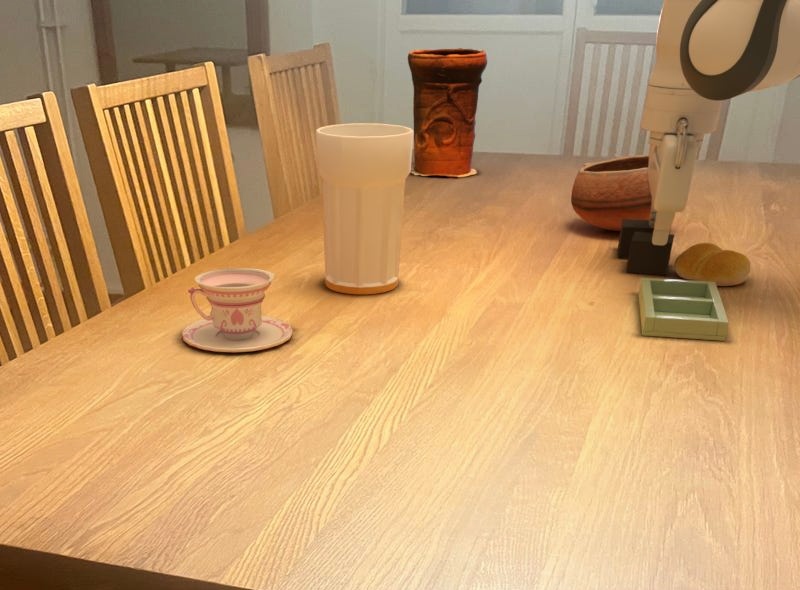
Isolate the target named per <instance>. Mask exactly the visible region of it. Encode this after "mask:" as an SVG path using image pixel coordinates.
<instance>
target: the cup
mask: <svg viewBox="0 0 800 590" xmlns="http://www.w3.org/2000/svg"><path fill="white" fill-rule="evenodd" d="M315 145H316V147H315V148H316V149H315V150H316V171H317V172H318V175H320V177H321V182H322V183H321V186H322V217H323V218H322V219H323V248H324V250H323V251H324V274H325V275H324V277H325V279H324V282H325V286H326V287H327V288H328V289H329V290H331V291H333V292H337V293H340V294H341V293H342V294H347V295H357V296H358V295H361V296H362V295H363V296H364V295H376V294H382V293H383V294H384V293H388V292H391V291H393V290H394V289H396V288H397V286H398V285H399V274H400V260H401V248H402V247H401V245H402V235H403V234H402V233H403V232H402V231H403V219H404V207H405V206H404V204H405V189H406V179H407V177H409V175H410V174H411V171H412V170H411V166H412V159H413V149H414V129H412V128H411V127H408V126H405V125H401V124H400V125H398V124H389V123H372V122H370V123H369V122H363V123H362V122H361V123H359V122H358V123H357V122H356V123H342V124H338V123H337V124H331V125H325V126H321V127H319V128H317V129H316V130H315Z"/></svg>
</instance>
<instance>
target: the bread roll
mask: <svg viewBox="0 0 800 590" xmlns="http://www.w3.org/2000/svg"><path fill="white" fill-rule="evenodd" d="M673 266H674V271H675V273H676V275H678V276H679V277H680V278H682V279H683V280H692V281H707V282H715V283H716V286H717V287H732V286H737V285H741V284H742V283H744V282H745V281H746V280H747V279H748V278H749V275H750V272H751V261H750V260H749V258H748V257H747V255H745V254H743V253H741V252H737V251H736V250H735V251H734V250H732V249H722V248H721V246H719V245H716V244H714V243H711V242H699V243H696V244H693V245H691V246H689V247H687V248H686V249H685V250H684V251H682V252H681V253H680V254H678V255H677V257H676V258H675V260H674V264H673Z"/></svg>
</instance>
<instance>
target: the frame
mask: <svg viewBox="0 0 800 590" xmlns="http://www.w3.org/2000/svg"><path fill="white" fill-rule="evenodd" d="M637 296H638V305H639V316H640V325H641V326H640V327H641V335H642V336H646V337H660V338H661V337H662V338H676V339H689V340H691V339H692V340H704V341H721V342H725V341H726V336H727V332H728V329H729V325H730V322H729V318H728V315H727V313H726V309H725V306H724V304H723V300H722V298H721V295H720V292H719V288H718V286H716V283H715V282H707V281H695V280H693V281H692V280H687V279H674V278H673V279H672V278H654V277H641V278H640V283H639V289H638V295H637Z"/></svg>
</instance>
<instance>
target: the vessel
mask: <svg viewBox="0 0 800 590" xmlns="http://www.w3.org/2000/svg"><path fill="white" fill-rule="evenodd" d="M407 63H408V67H409V70H410V74H411V81H412V86H413V87H412V88H413V98H412V99H413V100H412V101H413V102H412V103H413V104H412V105H413V106H412V107H413V109H412V113H413V114H412V115H413V131H414V134H413V155H414V156H413V157H414V165H413V164H411V172H410V174H413V175H414V176H422V177H428V176H441V177H443V176H444V177H445V176H446V177H448V178H464V177H470V176H473V175H476V174H478V172H477V170H476V169H475V168H472V163H473V153H474V146H475V145H474V144H475V140H476V132H475V131H476V130H475V128H476V124H477V121H476V115H477V111H478V101H479V91H480V90H479V89H480V85H481V84H482V83H483V80H482V75H483V73H484V72H485V70H486V68H487V65H488V56H487V53H486V51H485V50H484V49H481V50H478V49H473V48H461V47H459V48H458V47H457V48H438V49H417V50H416V49H413V50H411V51H409V52H408V55H407Z"/></svg>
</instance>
